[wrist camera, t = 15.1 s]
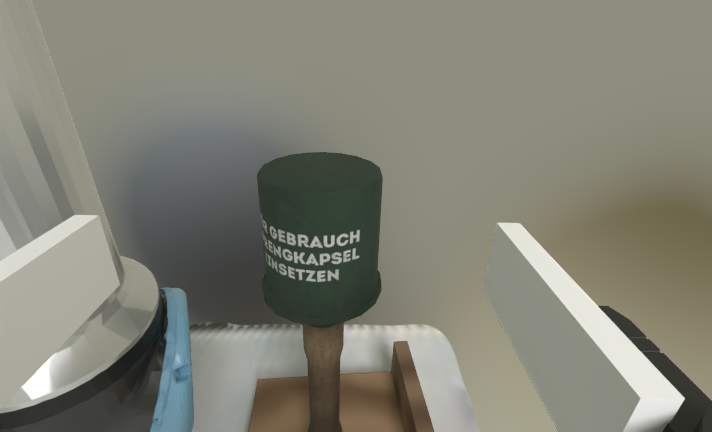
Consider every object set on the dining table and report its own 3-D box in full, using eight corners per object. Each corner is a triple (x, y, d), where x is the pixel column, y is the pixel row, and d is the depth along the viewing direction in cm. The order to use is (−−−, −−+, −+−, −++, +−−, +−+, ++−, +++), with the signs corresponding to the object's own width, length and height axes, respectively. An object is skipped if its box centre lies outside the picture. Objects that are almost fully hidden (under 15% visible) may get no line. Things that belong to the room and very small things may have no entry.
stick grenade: (262, 465, 35) (220, 168, 22) (324, 404, 41) (320, 143, 28) (326, 535, 30) (321, 207, 17) (385, 454, 36) (414, 166, 23)
